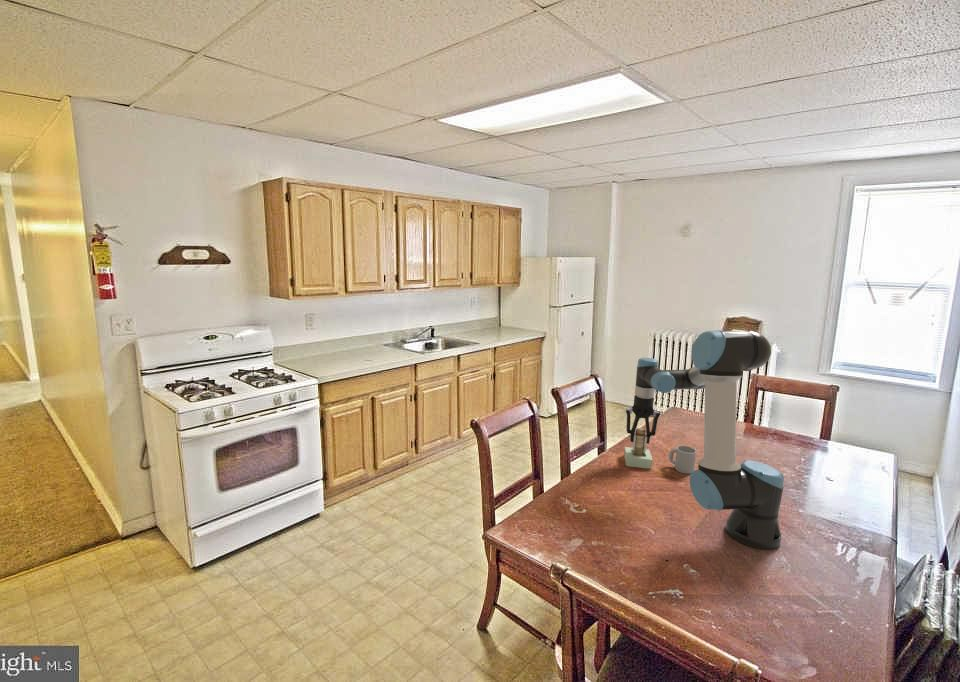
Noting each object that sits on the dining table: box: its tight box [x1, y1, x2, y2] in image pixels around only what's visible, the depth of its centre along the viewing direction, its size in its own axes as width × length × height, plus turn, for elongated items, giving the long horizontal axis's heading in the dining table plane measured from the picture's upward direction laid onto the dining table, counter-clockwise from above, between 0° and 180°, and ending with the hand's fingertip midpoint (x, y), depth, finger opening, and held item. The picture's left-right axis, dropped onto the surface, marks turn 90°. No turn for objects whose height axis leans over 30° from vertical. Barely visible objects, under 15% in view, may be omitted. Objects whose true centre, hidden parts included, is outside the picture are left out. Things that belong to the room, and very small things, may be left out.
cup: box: [668, 445, 697, 475], centre depth 192 cm, size 7×10×9 cm
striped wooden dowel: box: [634, 427, 646, 456], centre depth 196 cm, size 4×4×14 cm
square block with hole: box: [623, 446, 654, 470], centre depth 197 cm, size 10×10×4 cm
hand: (638, 449), depth 197 cm, fingers closed on striped wooden dowel, 4 cm apart
